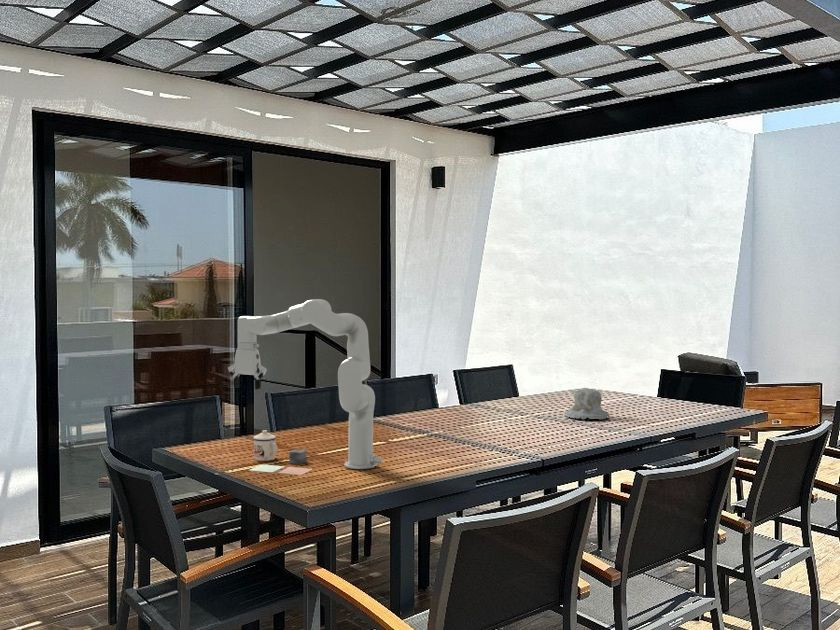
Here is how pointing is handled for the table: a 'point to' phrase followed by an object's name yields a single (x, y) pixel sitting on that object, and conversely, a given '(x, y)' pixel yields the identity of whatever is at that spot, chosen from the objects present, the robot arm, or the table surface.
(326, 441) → the table surface
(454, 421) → the table surface
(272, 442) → the teacup with lid
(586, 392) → the hat
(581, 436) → the table surface
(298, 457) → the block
